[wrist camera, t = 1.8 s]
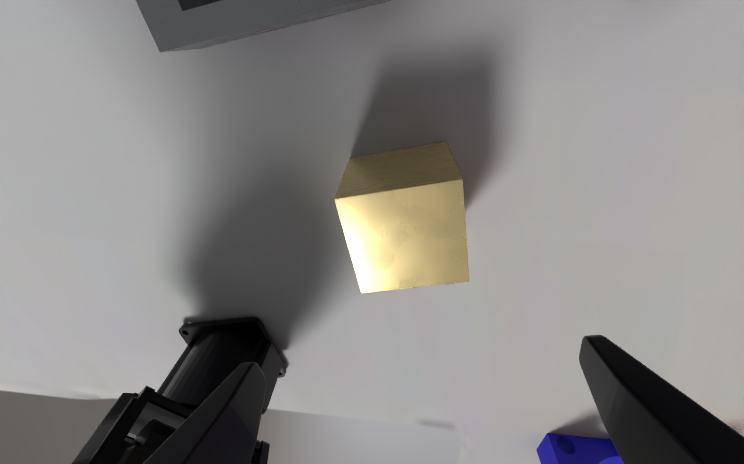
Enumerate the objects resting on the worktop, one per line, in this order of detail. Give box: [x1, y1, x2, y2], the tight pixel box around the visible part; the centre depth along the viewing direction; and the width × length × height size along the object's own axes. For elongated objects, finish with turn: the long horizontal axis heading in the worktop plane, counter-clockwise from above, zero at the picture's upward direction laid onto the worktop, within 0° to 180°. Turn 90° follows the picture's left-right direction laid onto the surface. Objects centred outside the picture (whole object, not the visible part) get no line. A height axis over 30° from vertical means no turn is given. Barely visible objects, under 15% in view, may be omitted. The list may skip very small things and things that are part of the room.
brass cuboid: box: [334, 141, 469, 293], centre depth 16 cm, size 5×5×5 cm
